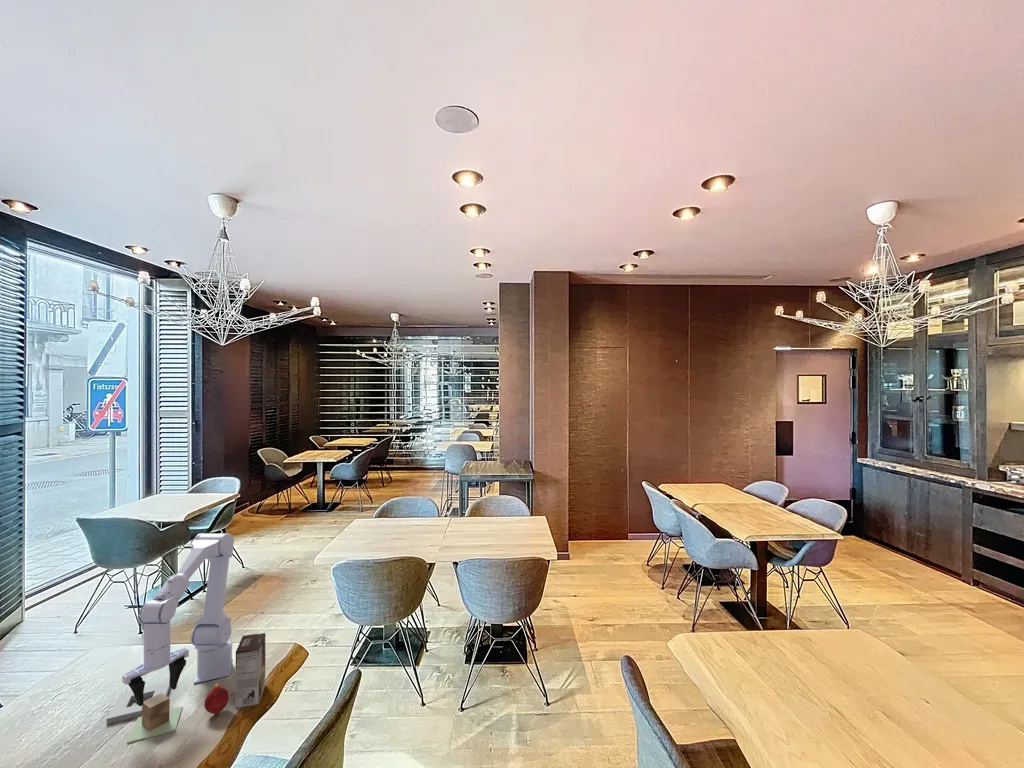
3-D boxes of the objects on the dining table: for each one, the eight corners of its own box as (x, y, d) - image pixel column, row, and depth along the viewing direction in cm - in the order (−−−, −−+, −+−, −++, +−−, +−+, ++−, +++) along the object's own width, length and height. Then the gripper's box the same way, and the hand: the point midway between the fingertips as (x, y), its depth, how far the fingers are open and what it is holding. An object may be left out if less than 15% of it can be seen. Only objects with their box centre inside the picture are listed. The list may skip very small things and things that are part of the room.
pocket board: (170, 686, 140) (170, 681, 140) (161, 710, 130) (161, 705, 130) (120, 697, 135) (120, 692, 135) (106, 724, 124) (106, 718, 124)
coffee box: (242, 689, 139) (242, 635, 139) (266, 685, 141) (266, 631, 141) (234, 709, 130) (234, 651, 131) (259, 704, 132) (260, 647, 133)
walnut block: (161, 714, 128) (161, 692, 128) (169, 720, 125) (169, 698, 125) (141, 724, 124) (142, 702, 124) (149, 731, 121) (150, 708, 121)
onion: (233, 709, 130) (234, 680, 131) (214, 722, 125) (215, 693, 125) (218, 704, 132) (218, 676, 132) (199, 717, 127) (199, 688, 127)
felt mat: (182, 707, 131) (182, 706, 131) (175, 731, 122) (175, 729, 122) (138, 718, 127) (138, 717, 127) (127, 743, 118) (127, 742, 118)
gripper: (180, 629, 133) (179, 676, 133) (117, 654, 120) (116, 706, 120) (192, 635, 129) (192, 684, 129) (129, 662, 117) (129, 716, 117)
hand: (156, 695), depth 124 cm, fingers open, 7 cm apart
